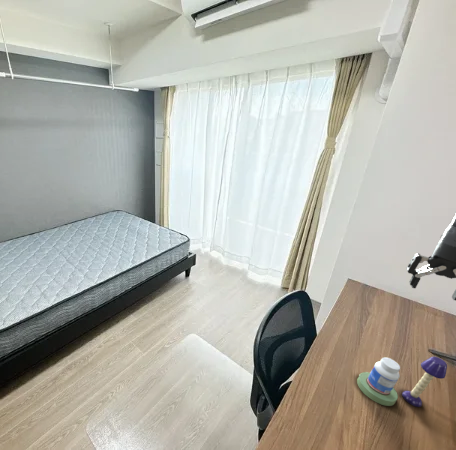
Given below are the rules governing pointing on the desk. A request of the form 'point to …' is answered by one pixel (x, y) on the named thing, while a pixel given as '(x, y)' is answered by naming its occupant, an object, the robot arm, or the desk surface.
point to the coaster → (375, 395)
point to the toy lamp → (426, 379)
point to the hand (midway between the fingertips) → (433, 292)
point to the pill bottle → (384, 375)
